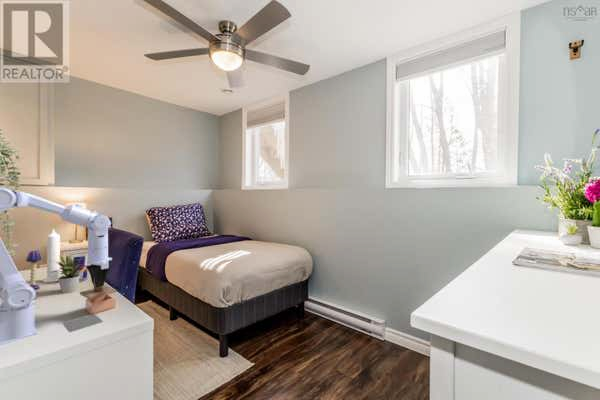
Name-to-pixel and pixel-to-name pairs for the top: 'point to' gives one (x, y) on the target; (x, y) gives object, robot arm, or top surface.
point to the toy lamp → (33, 267)
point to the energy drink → (84, 263)
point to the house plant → (68, 275)
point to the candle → (53, 257)
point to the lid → (97, 292)
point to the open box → (100, 304)
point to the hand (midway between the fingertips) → (98, 285)
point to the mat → (82, 323)
